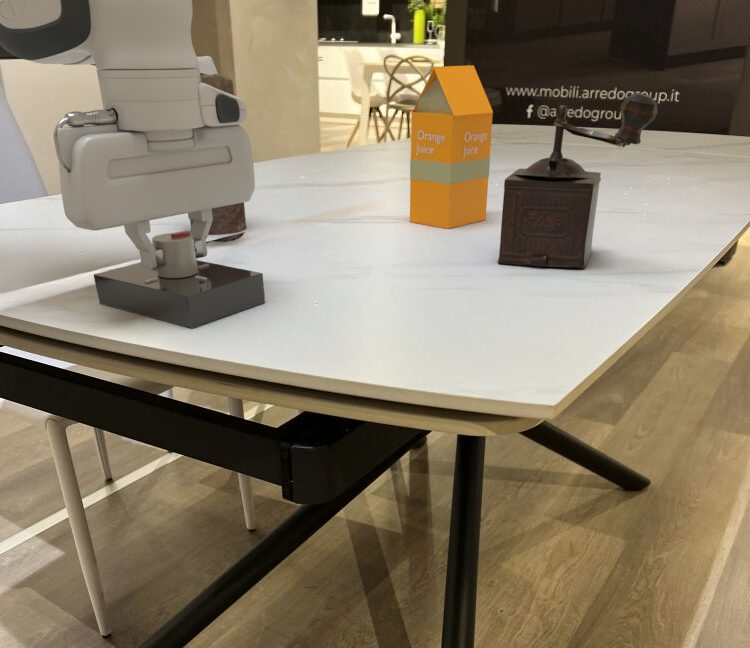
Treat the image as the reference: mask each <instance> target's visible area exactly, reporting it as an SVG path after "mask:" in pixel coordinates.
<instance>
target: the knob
mask: <svg viewBox="0 0 750 648" xmlns="http://www.w3.org/2000/svg"><path fill="white" fill-rule="evenodd" d="M190 232H191V230H188V229H187V230H181V231H176V232H167V233H161V234H157V235H155V236H152V237H151V243H152V244H153V246H154V247H155V248H160V249H163V255H164V256H163V260H164V261H165V265H164V266H163V267H160V268H156V269H157V275H158V276H160V277H163V278H184V277H189V276H193V275H195V274H197V273H198V268H197V260H198V259H196V253H195V245H194V238H193V235H191V234H190Z"/></svg>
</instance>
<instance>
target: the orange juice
mask: <svg viewBox="0 0 750 648" xmlns="http://www.w3.org/2000/svg"><path fill="white" fill-rule="evenodd" d="M432 67H433V69H432V71H431V72H430V75H429V77H428V79H427V81H426V83H425V85H424V86H423V89H422V91H421V94H420V95H419V98H418V99H417V102H416V104H415V106H414V107H413V109H412V111H411V112H410V113H411V116H410V119H411V121H410V159H409V160H410V162H409V164H410V165H409V168H410V170H409V179H410V183H409V184H410V187H409V188H410V189H409V198H410V199H409V223H413V224H420V225H425V226H430V227H436V228H441V229H447V230H449V229H455V228H458V227H462V226H466V225H470V224H475V223H479V222H483V221H486V220H487V219H486V218H487V204H488V191H489V190H488V189H489V177H490V167H491V166H490V163H491V143H492V128H493V116H494V115H493V114H494V111H493V109H492V108H493V107H492V106H491V103H490V101H489V98H488V96H487V94H486V91H485V89H484V87H483V85H482V82H481V80H480V77H479V75H478V72H477V70H476V67H475V65H473V64H472V65H447V66H446V65H443V66H432Z"/></svg>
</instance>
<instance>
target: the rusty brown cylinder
mask: <svg viewBox="0 0 750 648" xmlns="http://www.w3.org/2000/svg"><path fill="white" fill-rule="evenodd" d="M200 78H201V82H202V83H205V84H208V85H210V86H212V87H214V88H216V89H219V90H221V91H224V92H226V93H229V94H231V95H234V96H235V93H234V92H235V91H234V82H233V79H232V78H231V77H229V76H225V75H222V74H218V73H213V74H207V73H203V72H200ZM245 207H246V206H245V202H243V203H238V204H233V205H227V206H222V207H217V208H212V217H213V221H212V224H211V227H210V230H209V233H208V236H221V235H227V236H223V237H220V238H216V239H211V240H206V244H208V243H227V242H230V241H235V240H238V239H240V238H242V237H243V236H244V235H245V234H246V233H247V231H246V230H247V220H246V208H245ZM189 222H190V228H191V227H192V223H193V220H191V219H189ZM230 234H231V235H230Z"/></svg>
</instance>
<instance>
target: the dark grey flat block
mask: <svg viewBox="0 0 750 648" xmlns="http://www.w3.org/2000/svg"><path fill="white" fill-rule="evenodd" d="M196 260H197V268H198V273H197V274H195V275H193V276H189V277H184V278H163V277H160V276H158V275H157V269H153V270H149V269H145V268H144V267H143V266H142V264H141V261H140V262H137V263H133V264H129V265H124V266H121V267H117V268H113V269H109V270H106V271H101V272H98V273H94V274H93V279H94V280H93V281H94V284H95V289H96V293H97V299H98V303H99V304H100V305H103V306H107V307H111V308H114V309H118V310H122V311H126V312H130V313H134V314H137V315H141V316H143V317H149V318H152V319H156V320H160V321H163V322H167V323H171V324H174V325H178V326H182V327H185V328H189V329H194V328H197V327H199V326H203V325H205V324H208V323H210V322H214V321H217V320H219V319H222V318H226V317H228V316H230V315H233V314H236V313H240V312H242V311H245V310H247V309H251V308H253V307H256V306H259V305H263V304H265V303H266V295H265V294H266V293H265V284H264V273H263V272H259V271H253V270H248V269H243V268H238V267H234V266H228V265H223V264H218V263H213V262H208V261H203V260H198V259H196Z"/></svg>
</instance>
